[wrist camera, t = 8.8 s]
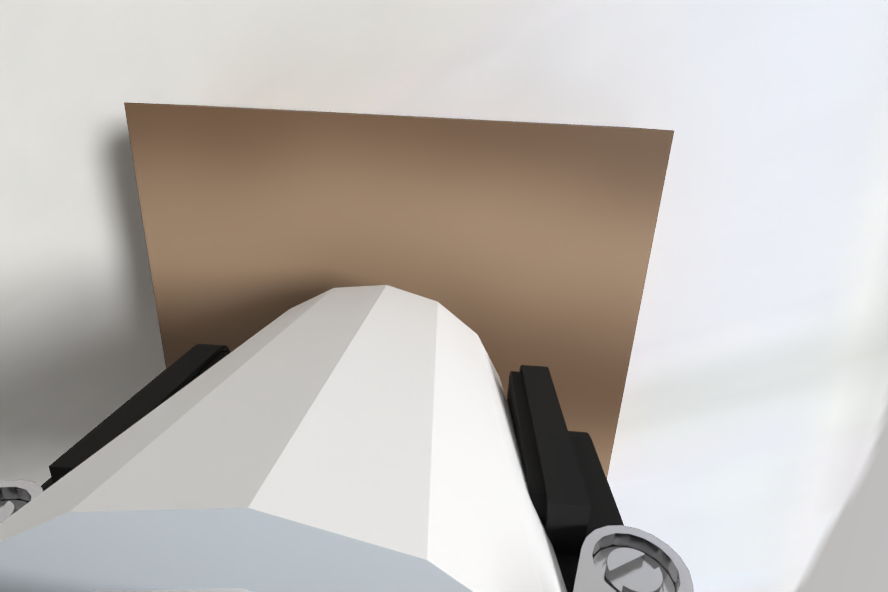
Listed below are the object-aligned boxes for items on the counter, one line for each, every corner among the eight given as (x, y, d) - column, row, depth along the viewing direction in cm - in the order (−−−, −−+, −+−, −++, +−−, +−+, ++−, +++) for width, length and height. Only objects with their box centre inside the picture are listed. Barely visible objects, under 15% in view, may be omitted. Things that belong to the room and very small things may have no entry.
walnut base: (194, 105, 14) (124, 102, 11) (631, 127, 14) (674, 130, 11) (235, 463, 18) (191, 527, 15) (571, 487, 18) (591, 558, 15)
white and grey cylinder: (226, 504, 12) (-49, 948, 6) (218, 232, 10) (-256, 456, 3) (502, 541, 12) (543, 1025, 6) (559, 278, 10) (735, 587, 3)
